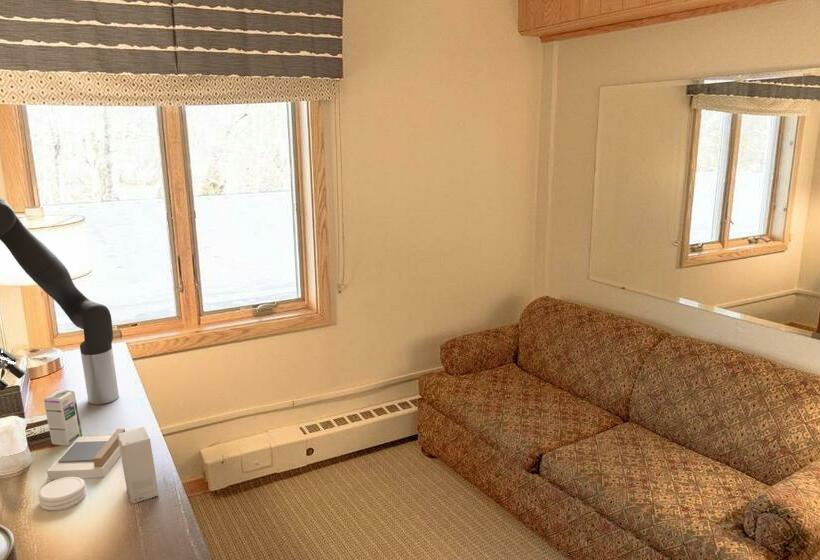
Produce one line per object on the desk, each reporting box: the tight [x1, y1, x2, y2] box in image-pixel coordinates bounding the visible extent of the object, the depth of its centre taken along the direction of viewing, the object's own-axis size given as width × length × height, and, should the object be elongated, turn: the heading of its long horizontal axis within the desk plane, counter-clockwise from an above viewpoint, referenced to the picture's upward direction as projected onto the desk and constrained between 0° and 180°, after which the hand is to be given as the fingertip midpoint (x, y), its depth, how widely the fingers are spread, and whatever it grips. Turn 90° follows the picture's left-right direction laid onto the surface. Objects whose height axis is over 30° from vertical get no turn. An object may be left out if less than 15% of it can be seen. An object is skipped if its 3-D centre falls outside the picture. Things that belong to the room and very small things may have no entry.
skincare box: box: [117, 426, 160, 504], centre depth 155 cm, size 8×7×16 cm
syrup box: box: [43, 389, 83, 447], centre depth 181 cm, size 6×6×14 cm
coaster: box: [38, 477, 87, 512], centre depth 154 cm, size 10×10×4 cm
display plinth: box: [46, 428, 126, 481], centre depth 172 cm, size 18×14×5 cm
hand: (14, 381), depth 178 cm, fingers open, 8 cm apart
